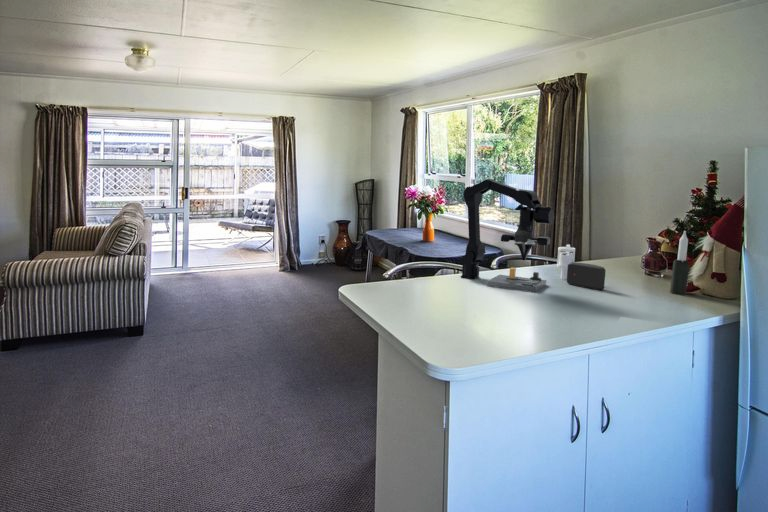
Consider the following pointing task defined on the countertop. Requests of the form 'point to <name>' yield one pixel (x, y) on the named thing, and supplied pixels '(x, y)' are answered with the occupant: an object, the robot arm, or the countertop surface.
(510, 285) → the breaker panel
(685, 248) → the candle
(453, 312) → the countertop surface
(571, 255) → the white stepped cylinder
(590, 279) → the dark rounded block
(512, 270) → the block
